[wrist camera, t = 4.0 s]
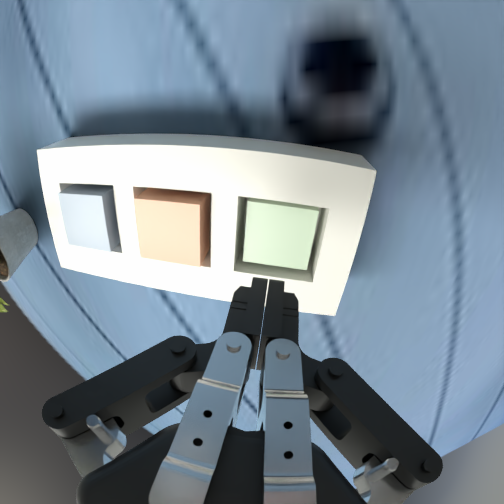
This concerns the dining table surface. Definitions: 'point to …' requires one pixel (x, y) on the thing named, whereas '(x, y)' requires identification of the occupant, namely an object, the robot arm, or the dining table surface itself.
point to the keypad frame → (215, 208)
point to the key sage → (279, 233)
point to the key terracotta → (173, 225)
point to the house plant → (15, 243)
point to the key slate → (90, 216)
